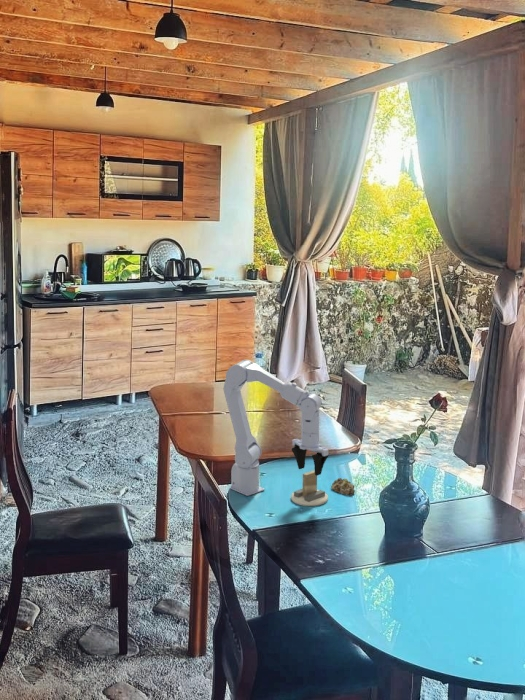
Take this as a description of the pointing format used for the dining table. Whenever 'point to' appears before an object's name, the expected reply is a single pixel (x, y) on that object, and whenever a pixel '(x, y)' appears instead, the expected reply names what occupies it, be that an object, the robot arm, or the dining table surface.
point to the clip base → (313, 503)
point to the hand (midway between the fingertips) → (309, 471)
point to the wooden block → (309, 483)
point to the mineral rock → (343, 486)
